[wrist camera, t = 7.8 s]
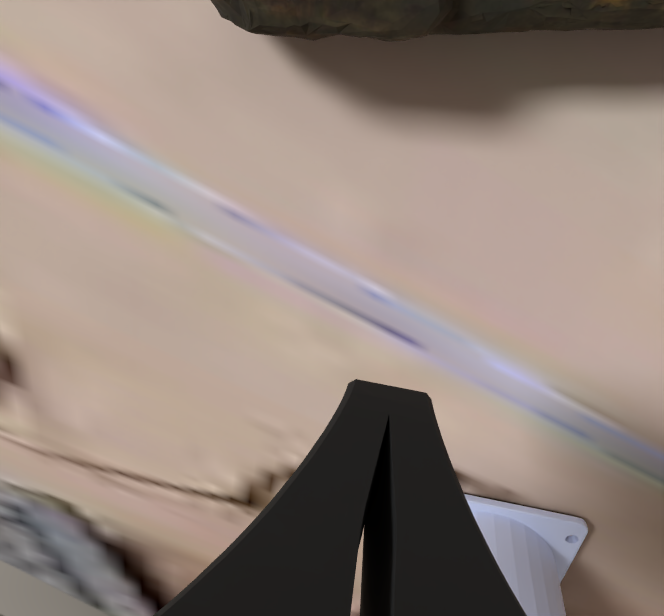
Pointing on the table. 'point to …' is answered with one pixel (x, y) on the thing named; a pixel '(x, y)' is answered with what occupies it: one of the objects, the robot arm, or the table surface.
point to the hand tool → (435, 16)
